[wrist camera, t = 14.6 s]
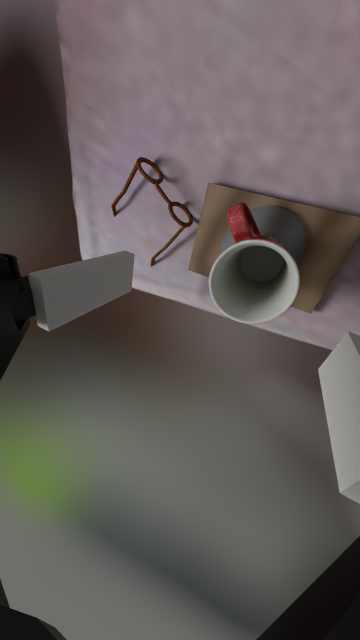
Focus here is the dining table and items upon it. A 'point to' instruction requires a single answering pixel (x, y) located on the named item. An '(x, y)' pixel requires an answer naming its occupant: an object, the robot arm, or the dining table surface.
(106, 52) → the dining table surface
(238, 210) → the mug
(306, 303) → the board
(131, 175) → the glasses
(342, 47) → the dining table surface
